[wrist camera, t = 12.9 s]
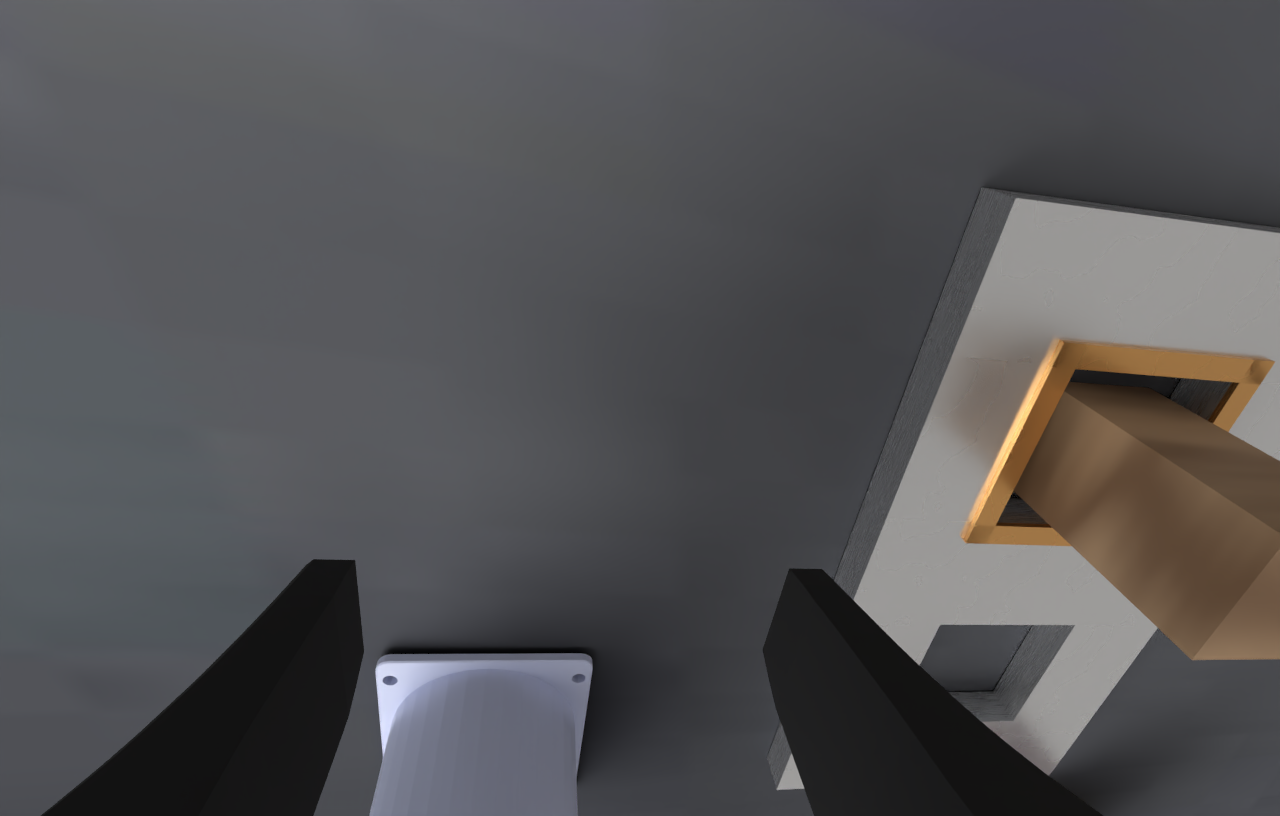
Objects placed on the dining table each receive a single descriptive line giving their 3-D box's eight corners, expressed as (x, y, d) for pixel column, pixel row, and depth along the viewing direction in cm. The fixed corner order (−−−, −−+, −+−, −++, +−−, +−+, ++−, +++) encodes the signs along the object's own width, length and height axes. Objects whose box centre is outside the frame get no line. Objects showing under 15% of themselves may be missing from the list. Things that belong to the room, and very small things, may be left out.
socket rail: (1027, 748, 32) (1050, 781, 31) (767, 757, 30) (778, 794, 28) (1375, 240, 20) (1440, 255, 19) (982, 187, 18) (1021, 199, 16)
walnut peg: (1094, 482, 24) (1317, 658, 17) (1000, 478, 23) (1192, 660, 16) (1148, 387, 22) (1424, 542, 15) (1047, 380, 21) (1287, 538, 14)
